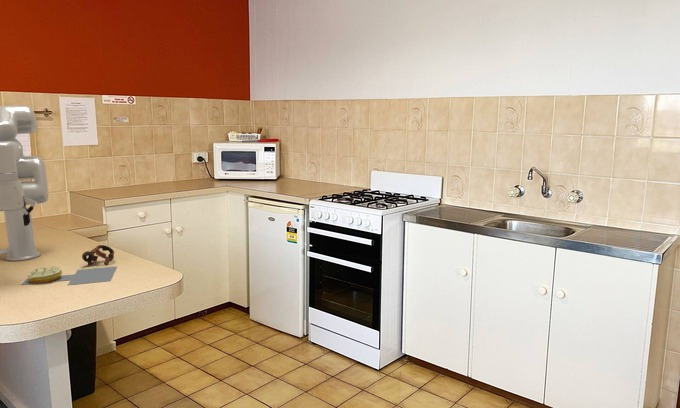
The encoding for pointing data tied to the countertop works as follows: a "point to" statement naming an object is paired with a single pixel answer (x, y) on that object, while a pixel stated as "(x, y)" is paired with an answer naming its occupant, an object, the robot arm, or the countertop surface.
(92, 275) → the t mat
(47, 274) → the decorated donut
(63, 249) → the countertop surface
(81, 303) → the countertop surface
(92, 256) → the pottery mug
